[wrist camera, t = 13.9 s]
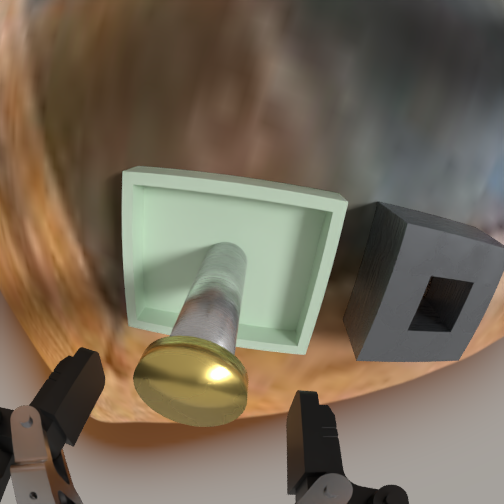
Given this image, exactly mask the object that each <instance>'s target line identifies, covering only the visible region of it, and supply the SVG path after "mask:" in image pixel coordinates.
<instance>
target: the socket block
mask: <svg viewBox="0 0 504 504" xmlns="http://www.w3.org/2000/svg"><path fill="white" fill-rule="evenodd" d="M503 271H504V245H503V244H501V243H500V242H498V241H497V240H495V239H494V238H492V237H490V236H489V235H487V234H486V233H484V232H483V231H481V230H479V229H478V228H476V227H473V226H470V225H466V224H463V223H460V222H456V221H453V220H449V219H446V218H442V217H438V216H435V215H431V214H427V213H423V212H419V211H416V210H412V209H408V208H404V207H399V206H395V205H391V204H387V203H382V202H378V204H377V209H376V213H375V216H374V220H373V224H372V228H371V232H370V235H369V239H368V243H367V246H366V250H365V253H364V256H363V260H362V263H361V266H360V270H359V273H358V276H357V279H356V282H355V285H354V288H353V292H352V295H351V298H350V300H349V303H348V306H347V309H346V312H345V315H344V318H343V322H344V325H345V327H346V330H347V333H348V336H349V339H350V342H351V345H352V348H353V352H354V355H355V358H356V361H381V362H430V361H456V360H459V359H460V357H461V356H462V354H463V352H464V351H465V349H466V347H467V346H468V344H469V342H470V340H471V338H472V337H473V335H474V333H475V331H476V329H477V327H478V326H479V324H480V322H481V320H482V318H483V316H484V314H485V312H486V310H487V308H488V306H489V303H490V301H491V299H492V297H493V295H494V293H495V290H496V288H497V286H498V283H499V281H500V279H501V276H502V274H503ZM431 276H434V277H433V279H432V282H431V285H430V287H429V289H428V292H427V294H426V297H425V298H422V297H423V294H424V292H425V289H426V287H427V285H428V282H429V279H430V277H431Z"/></svg>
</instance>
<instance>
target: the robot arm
mask: <svg viewBox="0 0 504 504" xmlns="http://www.w3.org/2000/svg"><path fill="white" fill-rule="evenodd" d="M104 385H105V375H104V371H103V367H102V364H101V360H100V356H99V353H98V352H96V351H92V350H89V349H86V348H83V347H81V348H79V349H78V351H77V352H76V353H75V355H74V356H73V357H72V356H68V357H66V358H65V359H63V360H62V361H60V362H59V364H58V365H57V366H56V368H55V369H54V372H52V373H51V375H50V376H49V379H47V380H46V382H45V383H44V385H43V386H42V388H41V389H40V391H39V392H38V393H37V395H36V396H35V398H34V400H33V401H32V402H31V404H30V405H29V406H28V405H23V406H20V407H18V408H16V409H15V410H10V409H5V408H1V407H0V502H1V499H2V496H3V494H4V491H5V489H6V486H7V484H8V481H9V479H10V476H11V478H12V483H13V488H14V492H15V497H16V501H17V504H83V503H82V500H81V498H80V497H79V495H78V493H77V492H76V490H75V488H74V485H73V482H72V479H71V476H70V473H69V469H68V466H67V462H66V459H65V455H64V452H63V449H62V448H63V446H64V444H65V443H67V444H69V445H71V446H74V445H75V443H76V441H77V439H78V437H79V435H80V433H81V431H82V429H83V427H84V425H85V423H86V421H87V419H88V417H89V415H90V413H91V411H92V409H93V408H94V406H95V404H96V402H97V400H98V398H99V396H100V394H101V392H102V391H103V388H104ZM286 426H287V427H286V428H287V487H288V488H287V493H288V494H290V495H291V494H292V495H293V494H294V495H296V503H295V504H409V501H408V496H407V494H406V492H405V491H404V490H403V489H402V488H401V487H399V486H396V485H386V486H383V487H382V488H380V489H379V490H378V489H372V488H367V487H361V486H358V485H355V484H353V483H352V482H350V481H349V480H348V479H347V477H346V476H345V474H344V471H343V466H342V459H341V452H340V445H339V439H338V432H337V429H336V421H335V415H334V414H333V412H332V411H331V409H330V408H329V406H328V405H319V400H318V394H317V392H315V391H299V390H298V391H297V392H296V394H295V397H294V399H293V402H292V404H291V407H290V409H289V412H288V416H287V425H286Z"/></svg>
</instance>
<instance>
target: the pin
mask: <svg viewBox="0 0 504 504" xmlns="http://www.w3.org/2000/svg"><path fill="white" fill-rule="evenodd" d="M246 269H247V257H246V255H245V253H244V251H243V250H242V249H241V248H240V247H239V246H237V245H235V244H233V243H229V242H221V243H217V244H215V245H213V246H212V247H211V248H210V249H209V250H208V252H207V254H206V256H205V258H204V260H203V262H202V264H201V267H200V269H199V271H198V273H197V275H196V278H195V280H194V282H193V284H192V286H191V289H190V291H189V293H188V295H187V298H186V300H185V302H184V304H183V307H182V309H181V311H180V313H179V316H178V318H177V320H176V323H175V325H174V327H173V330H172V332H171V334H170V336H169V337H164V338H161V339H158V340H156V341H154V342H153V343H151V344H150V345H149V346H148V347H147V348H146V349H145V351H144V353H143V355H142V357H141V359H140V361H139V363H138V365H137V367H136V369H135V372H134V377H133V380H134V386H135V389H136V391H137V393H138V394H139V396H140V397H141V399H142V400H143V401H144V402H145V403H146V404H147V405H148V406H149V407H150V408H152V409H153V410H154V411H156V412H157V413H159V414H161V415H162V416H164V417H166V418H168V419H171V420H173V421H176V422H179V423H182V424H187V425H191V426H200V427H211V426H219V425H223V424H226V423H229V422H231V421H233V420H235V419H236V418H238V417H239V416H240V415H241V414H242V413H243V411H244V410H245V407H246V404H247V393H248V375H247V372H246V370H245V368H244V366H243V365H242V363H241V362H240V361H239V360H238V358H237V357H236V356H234V354H235V347H236V340H237V333H238V326H239V319H240V312H241V304H242V297H243V290H244V283H245V276H246Z"/></svg>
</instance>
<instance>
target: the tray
mask: <svg viewBox="0 0 504 504" xmlns="http://www.w3.org/2000/svg"><path fill="white" fill-rule="evenodd" d="M347 205H348V201H347V200H346V199H345V198H344V197H343V196H341V195H340V194H339V193H335V192H330V191H325V190H320V189H314V188H309V187H303V186H298V185H292V184H286V183H280V182H273V181H267V180H260V179H254V178H247V177H239V176H232V175H224V174H216V173H208V172H199V171H190V170H180V169H169V168H158V167H146V166H137V167H134V168H131V169H128V170H125V171H123V175H122V249H123V270H124V284H125V296H126V307H127V317H128V325H129V326H131V327H135V328H139V329H144V330H148V331H153V332H157V333H162V334H167V335H170V334H171V332H172V330H173V327H174V325H175V323H176V320H177V318H178V316H179V313H180V311H181V309H182V307H183V304H184V302H185V300H186V298H187V295H188V293H189V291H190V289H191V286H192V284H193V282H194V280H195V278H196V275H197V273H198V271H199V269H200V267H201V264H202V262H203V260H204V258H205V256H206V254H207V252H208V250H209V249H210V248H211V247H212V246H213V245H215V244H217V243H221V242H229V243H233V244H235V245H237V246H239V247H240V248H241V249H242V250H243V251H244V253H245V255H246V257H247V269H246V276H245V283H244V290H243V297H242V304H241V312H240V319H239V326H238V333H237V340H236V347H242V348H250V349H257V350H265V351H273V352H282V353H292V354H302V355H305V354H306V351H307V348H308V345H309V342H310V339H311V336H312V333H313V330H314V327H315V323H316V320H317V317H318V314H319V311H320V307H321V304H322V301H323V297H324V294H325V290H326V287H327V283H328V280H329V276H330V273H331V269H332V265H333V262H334V258H335V254H336V250H337V247H338V243H339V239H340V235H341V231H342V227H343V222H344V218H345V214H346V210H347Z"/></svg>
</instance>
